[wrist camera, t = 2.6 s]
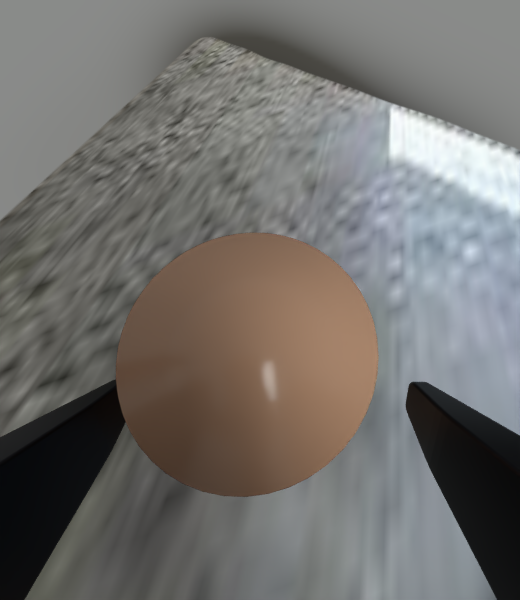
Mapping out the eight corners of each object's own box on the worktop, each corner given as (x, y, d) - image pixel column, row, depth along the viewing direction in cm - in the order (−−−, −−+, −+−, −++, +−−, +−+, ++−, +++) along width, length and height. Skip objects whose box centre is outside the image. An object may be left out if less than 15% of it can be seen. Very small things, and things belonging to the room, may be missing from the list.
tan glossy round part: (281, 455, 14) (248, 597, 3) (220, 393, 16) (70, 351, 5) (332, 384, 15) (432, 315, 5) (270, 334, 17) (236, 202, 6)
